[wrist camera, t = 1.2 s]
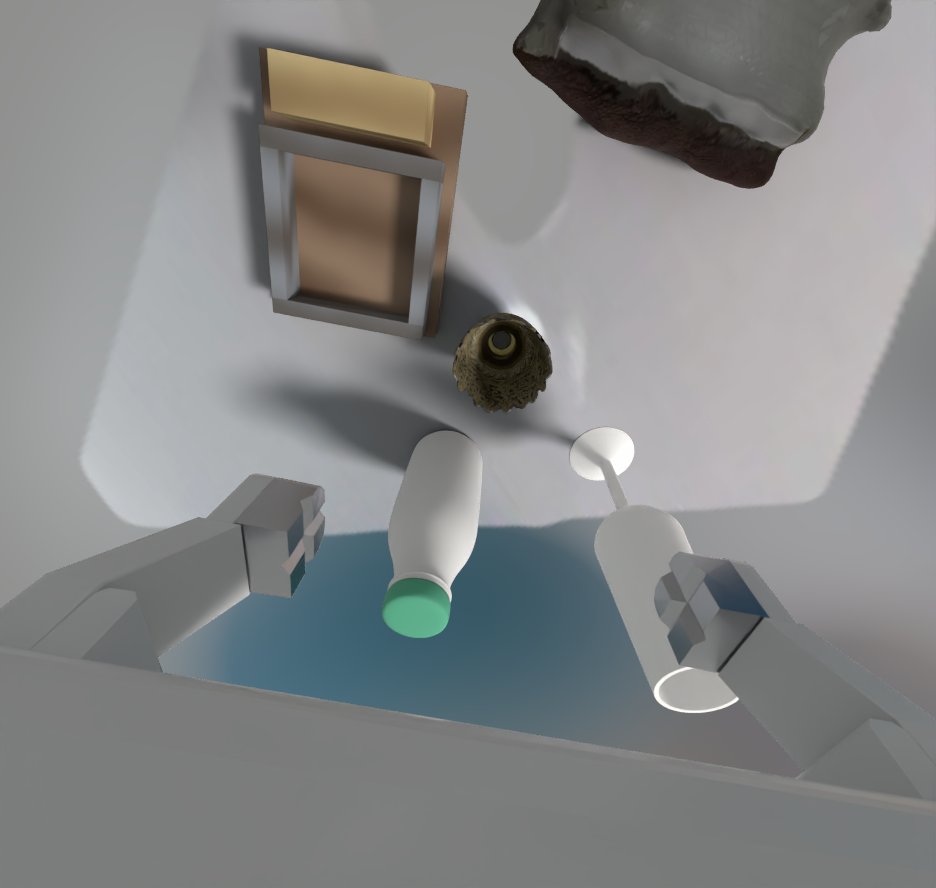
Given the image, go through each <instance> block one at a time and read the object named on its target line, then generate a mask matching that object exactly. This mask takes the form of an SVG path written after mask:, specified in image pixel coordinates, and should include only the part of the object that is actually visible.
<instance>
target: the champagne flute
mask: <svg viewBox="0 0 936 888" xmlns="http://www.w3.org/2000/svg"><path fill="white" fill-rule="evenodd" d="M633 456H634V445H633V442H632V440H631V439H630V437H629V436H628V435H627V434H626V433H624V432H623V431H621V430H619V429H615V428H610V427H601V428H596V429H593V430H590V431H588V432H586V433H584V434H583V435H581V436H580V437H579V438H578V439H577V440H576V441H575V443H574V444H573V446H572V448H571V451H570V463H571V466H572V468H573V469H574V470H575V472H576V473H578V474H579V475H580V476H582V477H584V478H586V479H590V480H606V483H607V486H608V488H609V491H610V493H611V496H612V498H613V501H614V503H615V506H616V509H617V510H616V511H614V512H612V513H611V514H610V515H609V516H608V517H607V518H606V519H605V520H604V521H603V522H602V524H601V525H600V527H599V529H598V531H597V533H596V536H595V543H594V549H595V554H596V556H597V559H598V561H599V563H600V566H601V568H602V571H603V573H604V576H605V578H606V580H607V583H608V585H609V588H610V590H611V592H612V595H613V597H614V599H615V602H616V604H617V607H618V609H619V612H620V614H621V616H622V618H623V621H624V624H625V626H626V629H627V631H628V633H629V636H630V638H631V641H632V643H633V645H634V647H635V650H636V653H637V655H638V658H639V660H640V663H641V665H642V667H643V670H644V672H645V675H646V677H647V679H648V682H649V684H650V686H651V689H652V692H653V694H654V696H655V698H656V700H657V701H658V702H659V703H660V704H661V705H663V706H665V707H667V708H669V709H672V710H675V711H679V712H687V713H699V712H709V711H714V710H717V709H721V708H724V707H727V706H729V705H731V704H733V703H735V702H736V701H738V700H739V698H738V697H737V696H736V695H735V694H734V693H733V692H732V691H731V689H730V688H729V687H728V686H727V685H726V684H725V683H724V682H723V680H722V679H721V678H720V677H719V676H718V674H719V673H715V672H710V671H705V670H700V669H695V668H690V667H685V666H680V665H679V664H678V661H677V659H676V657H675V654H674V652H673V650H672V647H671V645H670V643H669V640H668V638H667V635H668V633H669V630H670V628H669V627H667V626H666V625H665V624H664V623H663V622H662V621H661V620H660V619H659V616H658V614H657V611H656V608H655V602H654V596H655V588H656V586H657V584H658V582H659V580H660V578H661V577H662V576H664V575H666V574H668V573H669V572H671V569H670V566H669V562H670V561H671V559H672V557H673V556H674V555H675V554H676V553H678V552H679V551H680V552H686V553H692V554H693V552H692V549H691V547H690V545H689V542H688V540H687V537H686V535H685V533H684V530H683V528H682V526H681V525H680V524H679V523H678V521H677V520H676V519H675V518H674V517H672V516H671V515H670V514H668V513H666V512H664V511H662V510H660V509H657V508H654V507H650V506H645V505H630V504H629V501H628V499H627V497H626V495H625V492H624V490H623V488H622V486H621V483H620V481H619V479H618V477H617V475H619V474H621V473H622V472H623V471H624V470H625V469H626V468H627V467H628V466H629V465H630V463H631V462H632V459H633Z"/></svg>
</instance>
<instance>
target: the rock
mask: <svg viewBox="0 0 936 888" xmlns="http://www.w3.org/2000/svg"><path fill="white" fill-rule="evenodd" d="M891 8H892V7H891V0H541V1H540V3H539V5H538V7H537V9H536V11H535V13H534V15H533V17H532V18H531V20H530V22H529V23H528V25H527V26H526V27H525V29H524V30H523V31H522V32H521V33H520V34H519V36H518V37H517V39H516V40H515V42H514V44H513V53H514V55H515V56H516V58H517V59H518V60H519V61H520V63H521V64H522V65H523V66H524V67H525V69H526V70H527V71H528V72H529V73H530V74H531V75H532V76H534V77H535V78H537V79H538V80H540V81H541V82H542V83H544V84H545V85H547V86H548V87H549V88H550V89H552V90H553V91H554V92H555V93H556V94H557V95H558V96H559V97H560V98H561V99H562V100H563V101H564V102H565V103H566V104H567V105H568V106H569V107H570V108H572V109H573V110H574V111H575V112H577V113H578V114H579V115H580V116H582V117H583V118H584V119H585V120H586V121H587V122H588V123H589V124H590V125H591V126H592V127H593V128H595V129H596V130H597V131H599V132H600V133H601V134H603V135H605V136H607V137H610V138H613V139H616V140H619V141H622V142H625V143H628V144H632V145H638V146H644V147H649V148H654V149H658V150H661V151H664V152H667V153H669V154H672V155H674V156H676V157H678V158H680V159H681V160H683V161H684V162H685V163H687V164H688V165H689V166H690V167H691V168H693V169H694V170H696V171H697V172H699V173H702V174H704V175H706V176H708V177H710V178H713V179H716V180H719V181H723V182H726V183H729V184H732V185H734V186H737V187H741V188H748V189H750V188H757V187H761V186H764V185H765V184H766V183H767V182H768V181H769V179H770V178H771V176H772V174H773V172H774V169H775V166H776V162H777V160H778V157H779V155H780V154H781V153H782V151H783V150H784V149H785V148H786V147H788V146H791V145H793V144H797V143H800V142H803V141H805V140H806V139H808V138H809V137H810V136H811V135H812V134H813V133H814V131H815V130H816V129H817V127H818V124H819V122H820V119H821V117H822V114H823V110H824V97H825V87H824V83H825V78H826V74H827V70H828V66H829V64H830V62H831V60H832V59H833V57H834V55H835V53H836V52H837V50H838V49H839V48H840V47H841V46H842V45H843V44H844V43H845V42H846V41H847V40H848V39H850V38H851V37H853V36H855V35H857V34H860V33H863V32H865V31H869V32H872V31H880V30H881V29H883V28H884V27H885V26H886V25H887V23H888V22H889V20H890V19H891Z"/></svg>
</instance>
